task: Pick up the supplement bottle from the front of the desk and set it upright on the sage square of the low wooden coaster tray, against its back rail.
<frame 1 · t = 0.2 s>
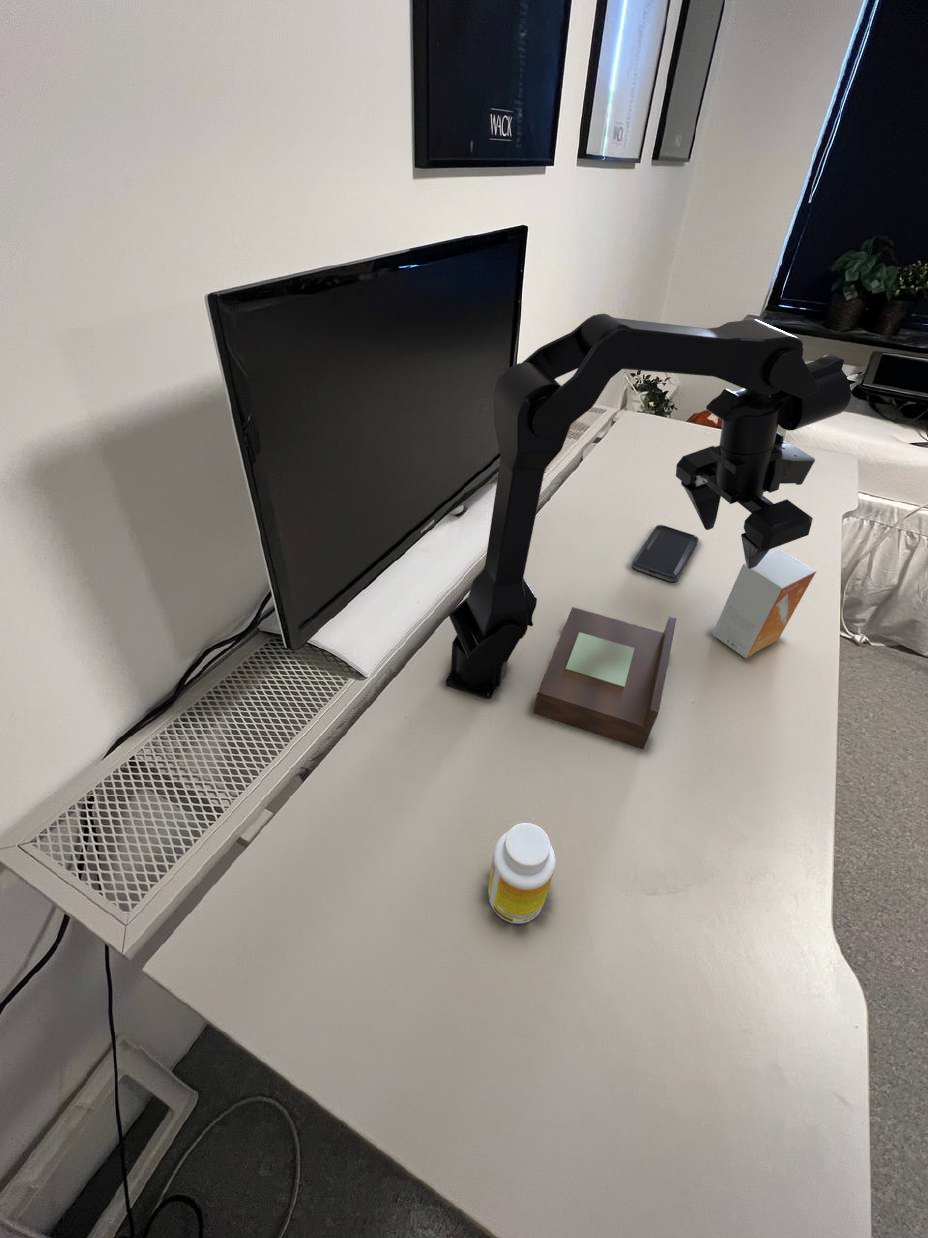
hand: (729, 547, 79), 15 cm above the table, tool pointing down, fingers open, 9 cm apart
phone: (664, 555, 104), on the table
wooden coaster tray: (601, 682, 80), on the table
small box: (744, 638, 89), on the table
supplement bottle: (515, 897, 58), on the table
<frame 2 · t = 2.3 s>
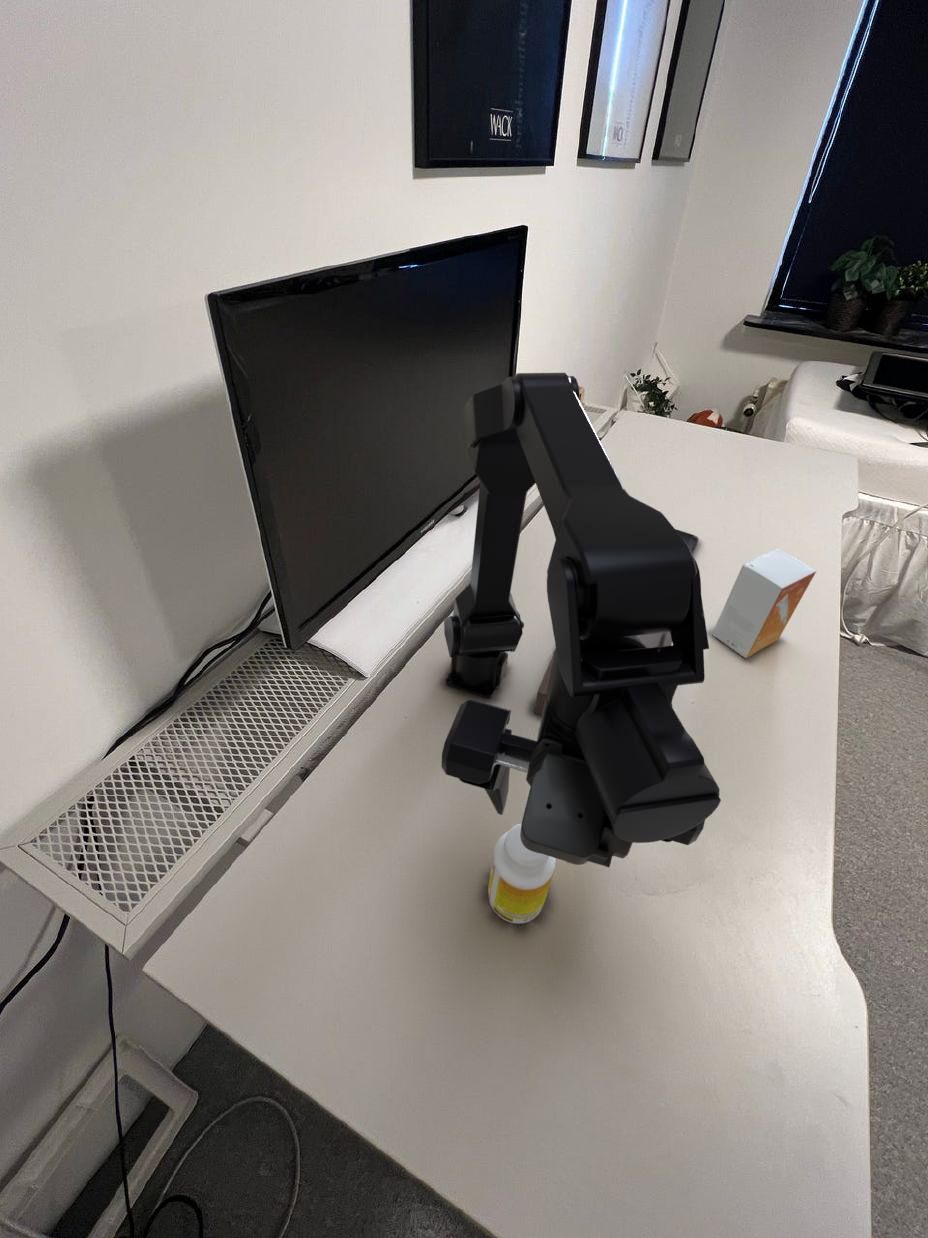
hand: (554, 825, 50), 13 cm above the table, tool pointing down, fingers open, 9 cm apart
nothing on the table moved.
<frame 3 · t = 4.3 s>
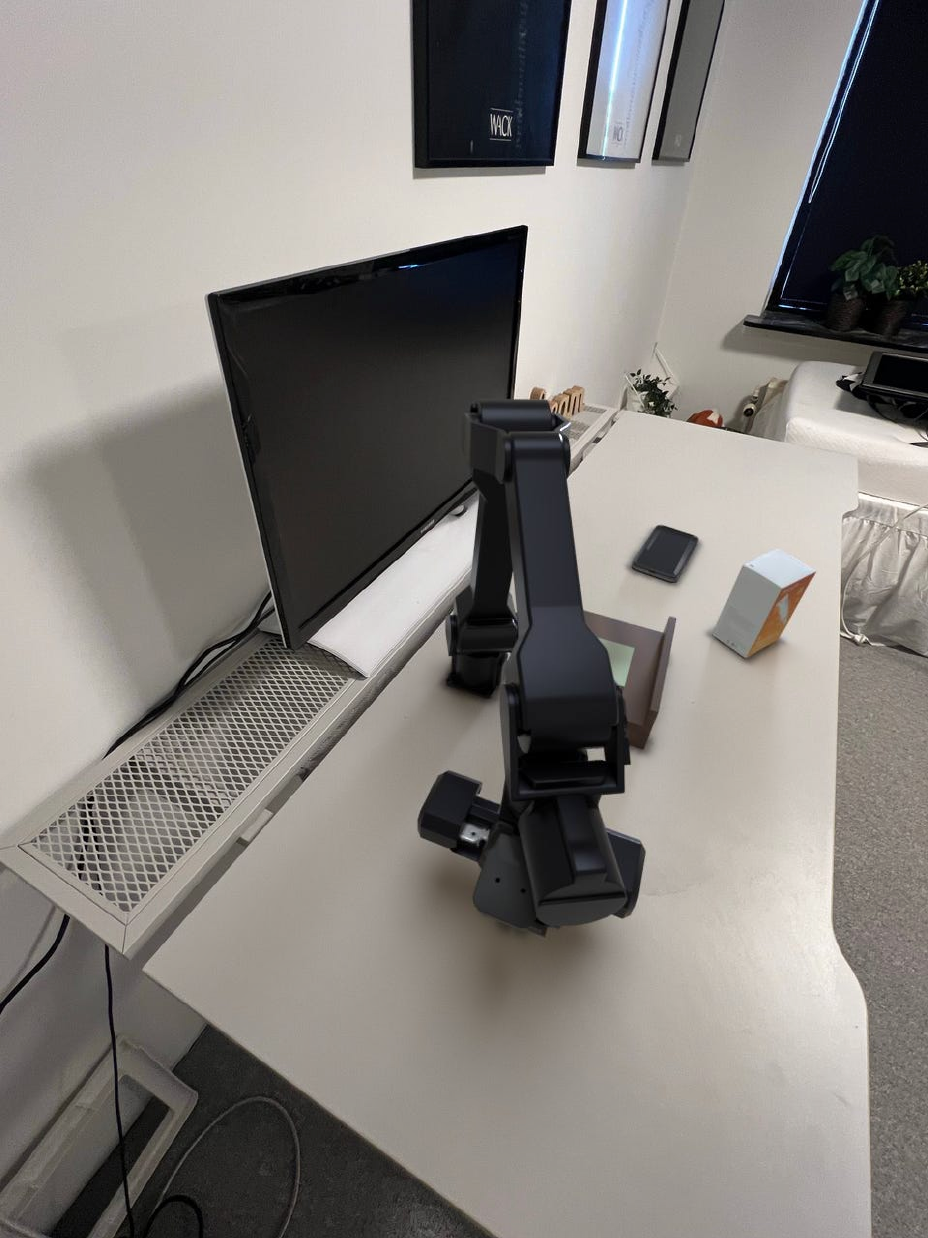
hand: (518, 884, 56), 3 cm above the table, tool pointing down, fingers closed on supplement bottle, 5 cm apart
supplement bottle: (515, 897, 58), on the table, touching gripper
everything else where it was.
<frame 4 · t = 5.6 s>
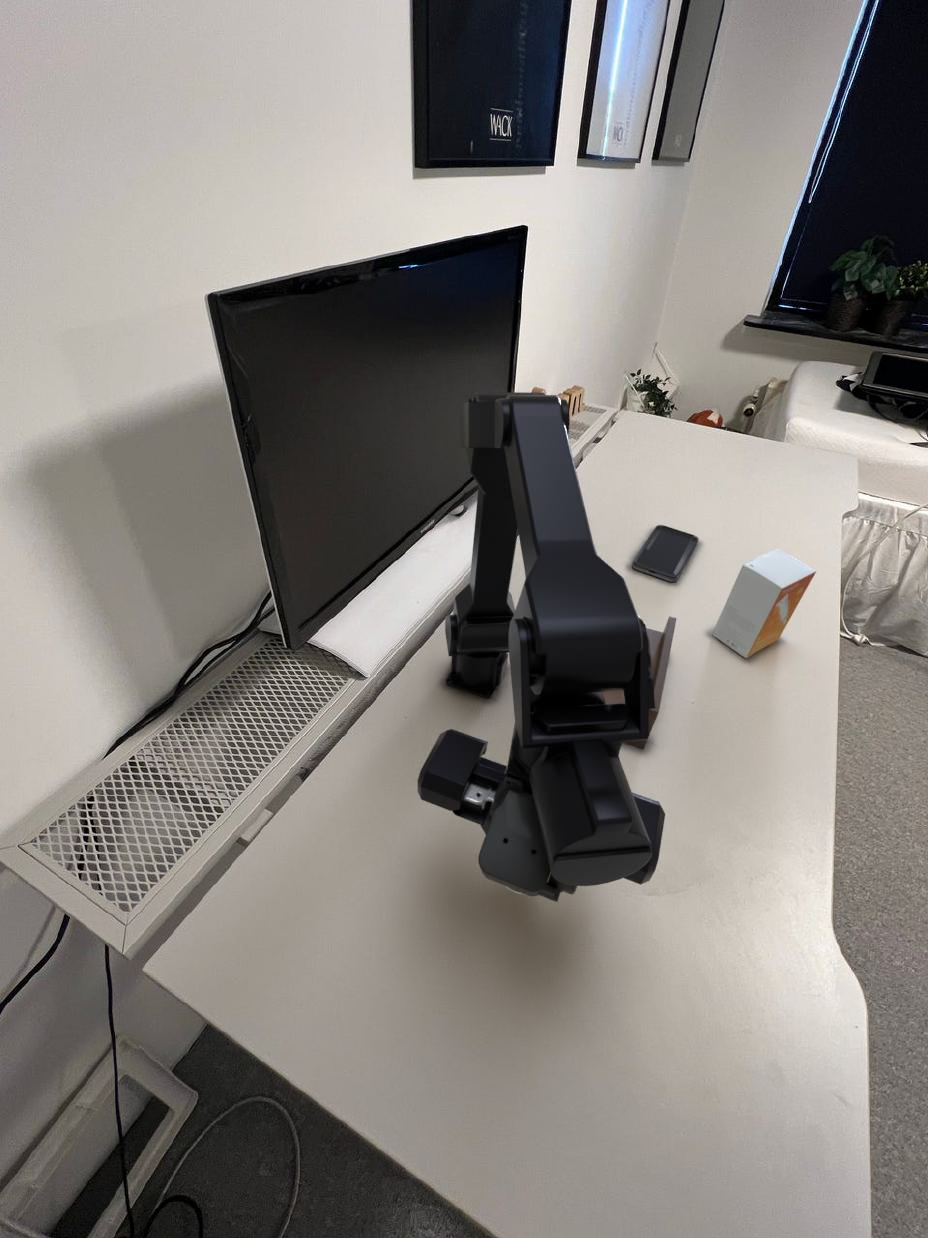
hand: (526, 852, 52), 9 cm above the table, tool pointing down, fingers closed on supplement bottle, 5 cm apart
supplement bottle: (522, 867, 54), point 6 cm above the table, touching gripper
everything else where it was.
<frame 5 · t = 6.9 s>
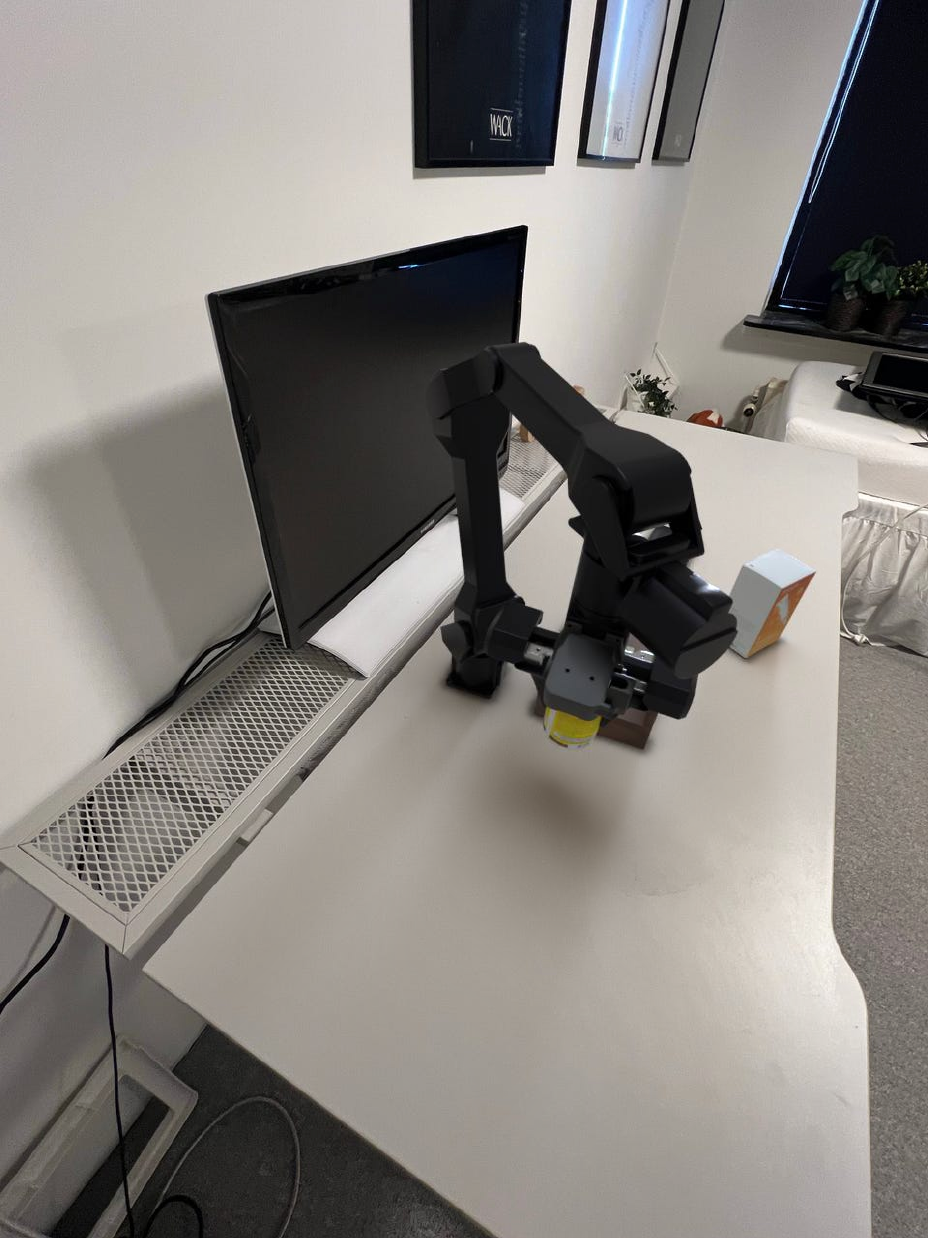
hand: (573, 714, 60), 12 cm above the table, tool pointing down, fingers closed on supplement bottle, 5 cm apart
supplement bottle: (567, 731, 62), point 9 cm above the table, touching gripper
everything else where it was.
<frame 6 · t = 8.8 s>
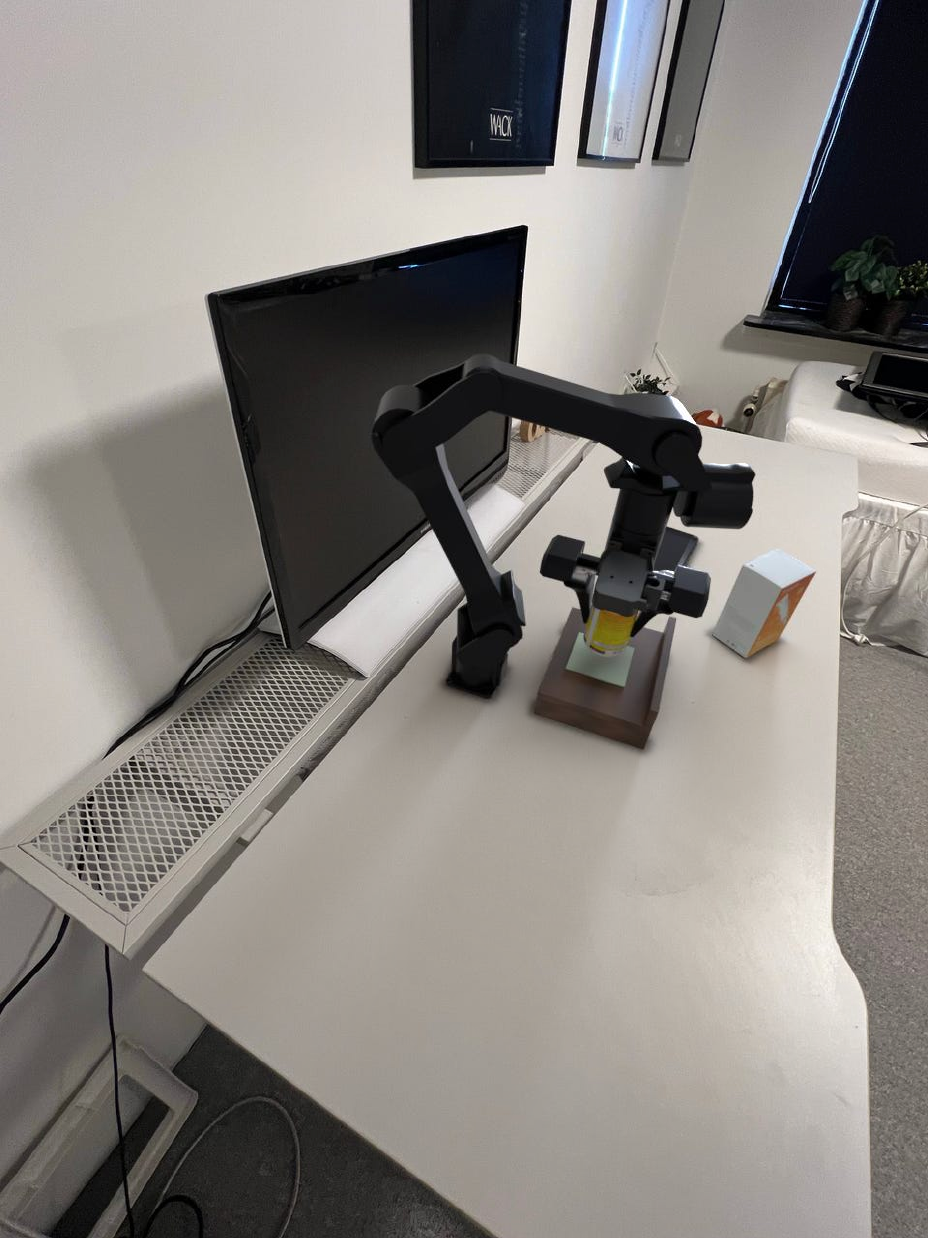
hand: (608, 628, 74), 9 cm above the table, tool pointing down, fingers closed on supplement bottle, 5 cm apart
supplement bottle: (603, 644, 76), point 6 cm above the table, touching gripper
everything else where it was.
when the fingers open (7 cm above the table, at t = 10.0 s): supplement bottle stays where it is, resting on wooden coaster tray.
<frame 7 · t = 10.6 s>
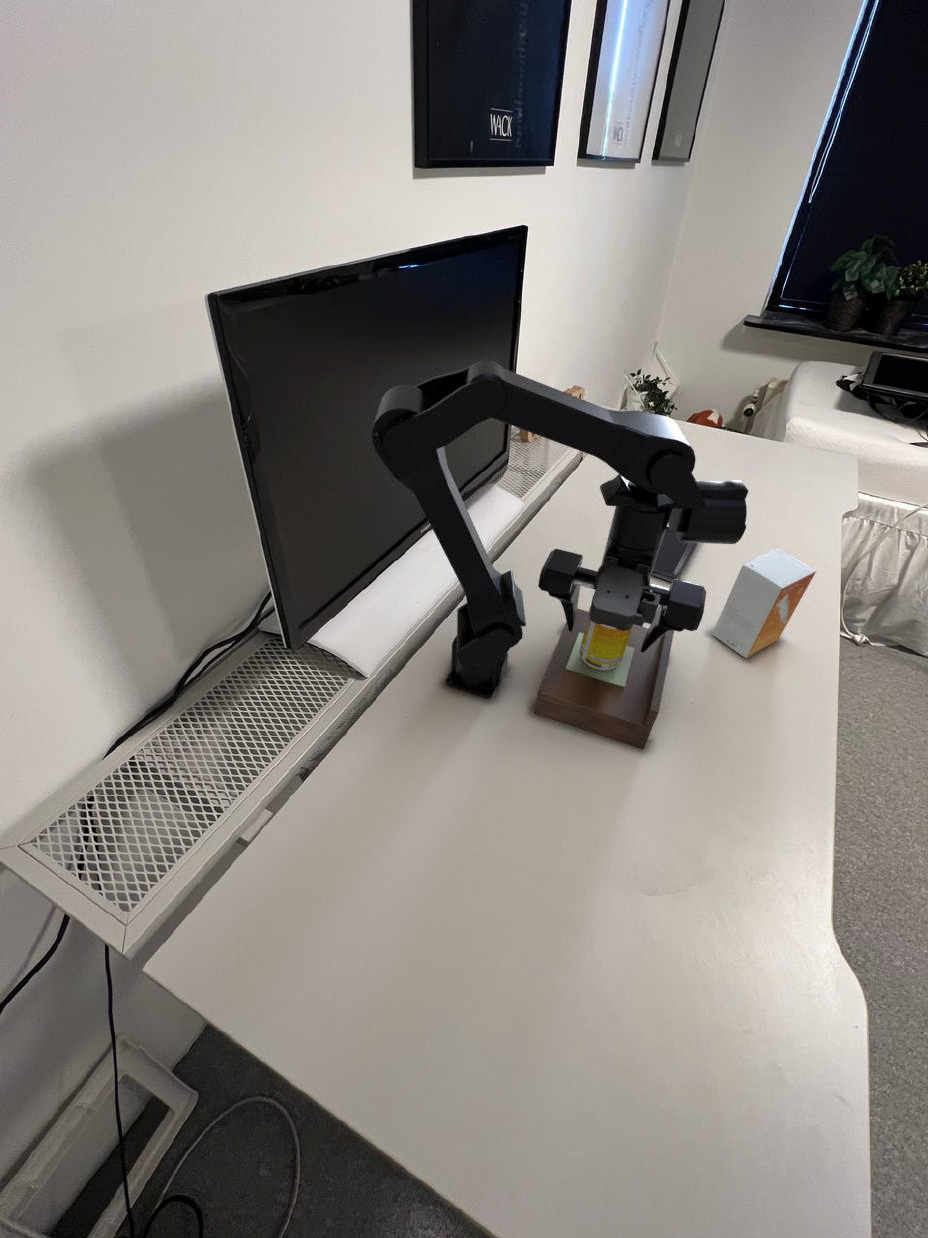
hand: (606, 639, 76), 7 cm above the table, tool pointing down, fingers open, 9 cm apart
supplement bottle: (599, 658, 78), point 4 cm above the table, touching wooden coaster tray
everything else where it was.
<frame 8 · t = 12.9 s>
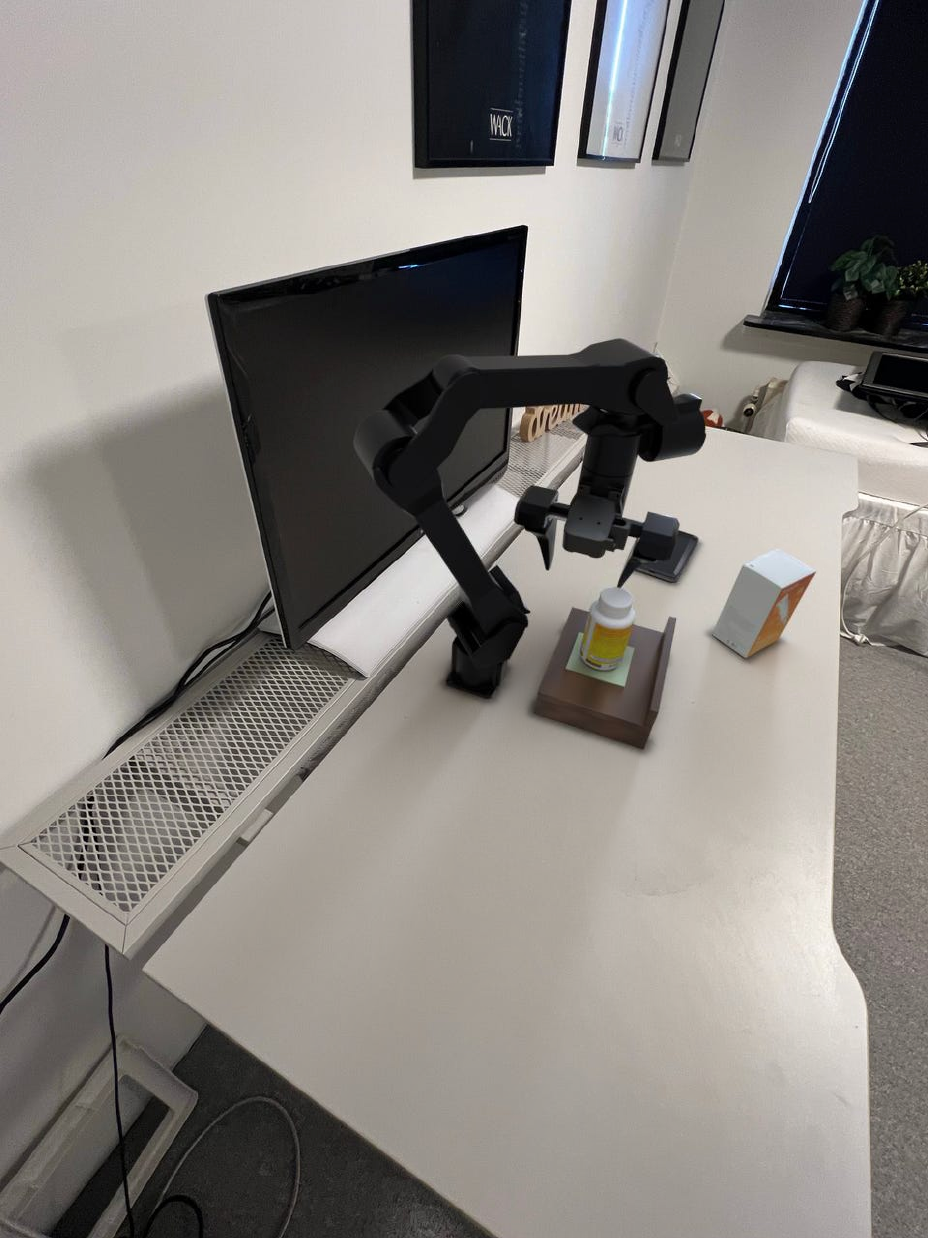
hand: (582, 577, 76), 13 cm above the table, tool pointing down, fingers open, 9 cm apart
nothing on the table moved.
at the end: supplement bottle inside the target area on the wooden coaster tray (0.1 cm from its centre), point 4.0 cm above the wooden coaster tray's base; supplement bottle tilted 0°; the gripper is holding nothing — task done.
